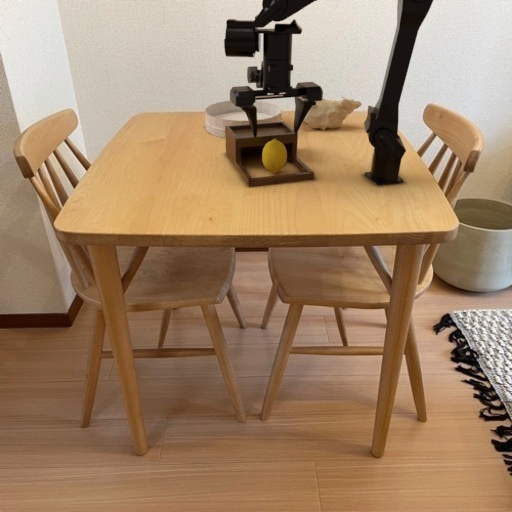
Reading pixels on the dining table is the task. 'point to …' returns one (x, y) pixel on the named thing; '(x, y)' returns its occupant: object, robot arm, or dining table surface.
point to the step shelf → (245, 142)
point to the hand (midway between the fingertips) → (275, 134)
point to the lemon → (274, 156)
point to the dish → (237, 116)
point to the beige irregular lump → (330, 113)
